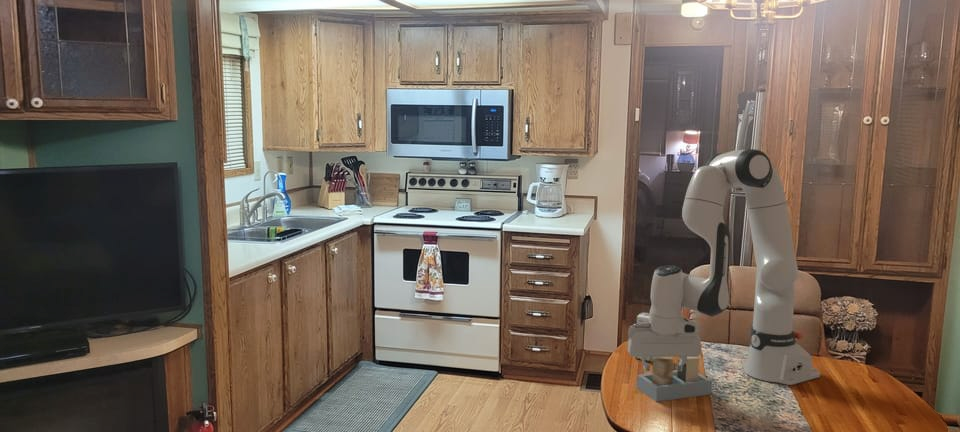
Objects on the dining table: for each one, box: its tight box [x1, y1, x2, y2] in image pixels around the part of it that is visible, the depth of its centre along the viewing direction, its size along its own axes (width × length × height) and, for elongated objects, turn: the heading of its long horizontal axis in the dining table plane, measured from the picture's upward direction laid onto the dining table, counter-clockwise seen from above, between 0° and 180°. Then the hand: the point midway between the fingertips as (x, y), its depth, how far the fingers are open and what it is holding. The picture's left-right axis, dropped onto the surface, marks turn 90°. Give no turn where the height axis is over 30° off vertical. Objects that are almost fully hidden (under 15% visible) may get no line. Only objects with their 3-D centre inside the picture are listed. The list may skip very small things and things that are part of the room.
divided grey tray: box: [636, 356, 713, 403], centre depth 195 cm, size 18×10×10 cm, turn 108°
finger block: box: [651, 357, 675, 386], centre depth 194 cm, size 4×4×9 cm
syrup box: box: [634, 312, 656, 363], centre depth 221 cm, size 6×6×14 cm
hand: (662, 370), depth 194 cm, fingers open, 8 cm apart
